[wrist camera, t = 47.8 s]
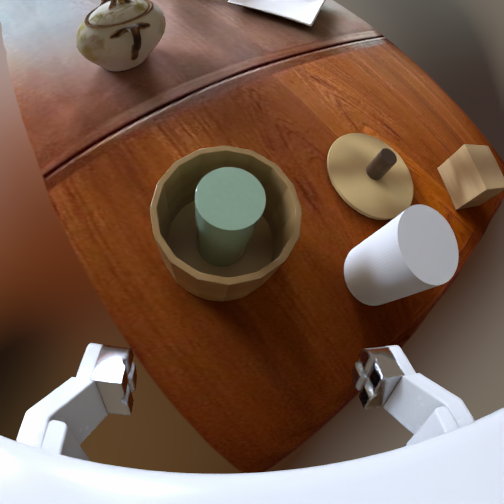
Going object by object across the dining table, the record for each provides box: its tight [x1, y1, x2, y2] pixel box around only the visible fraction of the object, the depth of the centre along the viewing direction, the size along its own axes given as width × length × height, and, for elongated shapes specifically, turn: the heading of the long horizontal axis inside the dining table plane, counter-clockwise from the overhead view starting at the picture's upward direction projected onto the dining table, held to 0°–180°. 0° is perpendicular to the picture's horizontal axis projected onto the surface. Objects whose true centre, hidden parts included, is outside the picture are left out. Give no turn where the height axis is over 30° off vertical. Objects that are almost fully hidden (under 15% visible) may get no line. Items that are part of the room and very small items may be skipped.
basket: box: [150, 146, 302, 302], centre depth 32 cm, size 13×13×10 cm
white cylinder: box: [344, 205, 458, 306], centre depth 32 cm, size 8×8×12 cm
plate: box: [227, 0, 325, 27], centre depth 54 cm, size 19×19×2 cm
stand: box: [437, 144, 504, 210], centre depth 42 cm, size 8×8×8 cm
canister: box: [195, 167, 266, 267], centre depth 30 cm, size 6×6×11 cm
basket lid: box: [327, 133, 413, 220], centre depth 40 cm, size 14×14×6 cm
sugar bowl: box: [76, 0, 166, 71], centre depth 36 cm, size 20×15×15 cm
